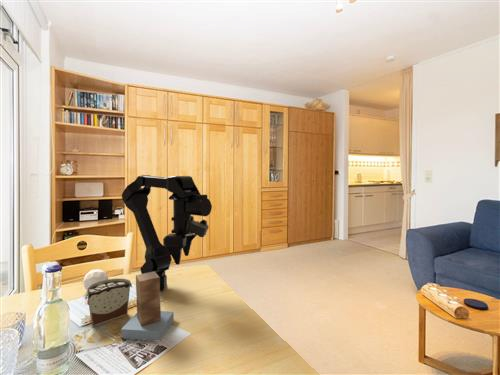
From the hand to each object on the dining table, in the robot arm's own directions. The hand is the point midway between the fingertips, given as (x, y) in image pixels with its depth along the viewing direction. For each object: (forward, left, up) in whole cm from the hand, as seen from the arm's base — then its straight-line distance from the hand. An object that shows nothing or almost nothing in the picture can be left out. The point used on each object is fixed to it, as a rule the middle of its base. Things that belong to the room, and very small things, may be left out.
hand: (182, 259), depth 93 cm
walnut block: (-3, -19, -10) cm, 22 cm away
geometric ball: (-32, +2, -13) cm, 35 cm away
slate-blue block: (-3, -19, -14) cm, 24 cm away
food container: (-18, -14, -13) cm, 26 cm away
